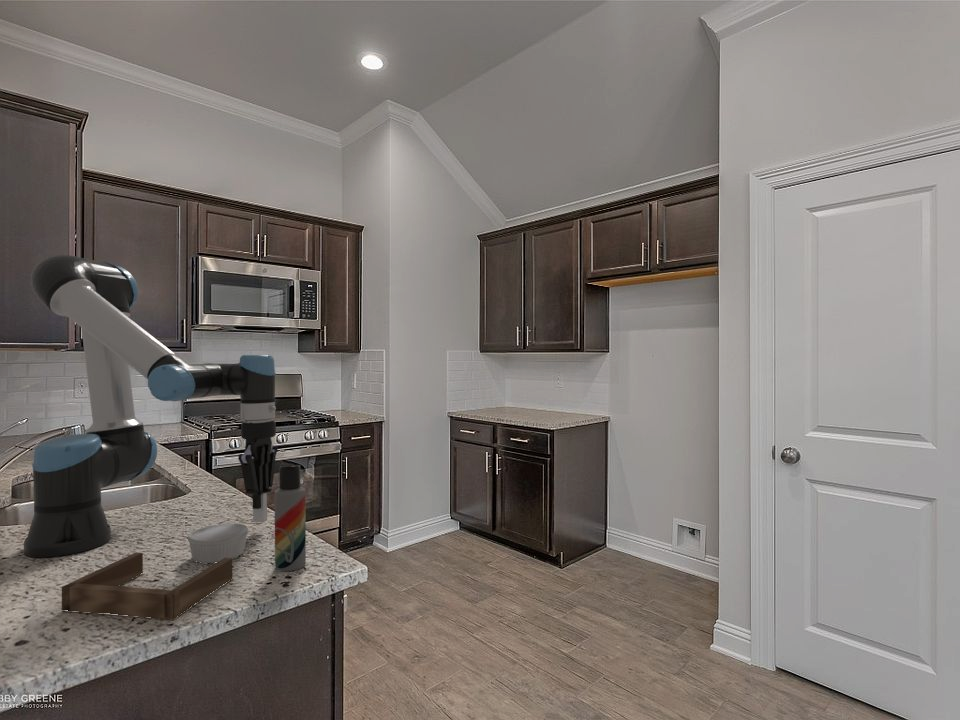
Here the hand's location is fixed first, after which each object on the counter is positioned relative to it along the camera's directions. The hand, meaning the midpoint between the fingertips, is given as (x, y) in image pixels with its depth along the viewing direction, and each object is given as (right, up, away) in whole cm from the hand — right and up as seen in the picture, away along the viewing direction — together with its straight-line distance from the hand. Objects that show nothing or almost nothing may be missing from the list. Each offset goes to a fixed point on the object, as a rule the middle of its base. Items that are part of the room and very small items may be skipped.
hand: (260, 521), depth 125 cm
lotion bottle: (+14, -3, -20) cm, 25 cm away
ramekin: (-2, -3, -15) cm, 15 cm away
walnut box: (-5, -3, -33) cm, 33 cm away
